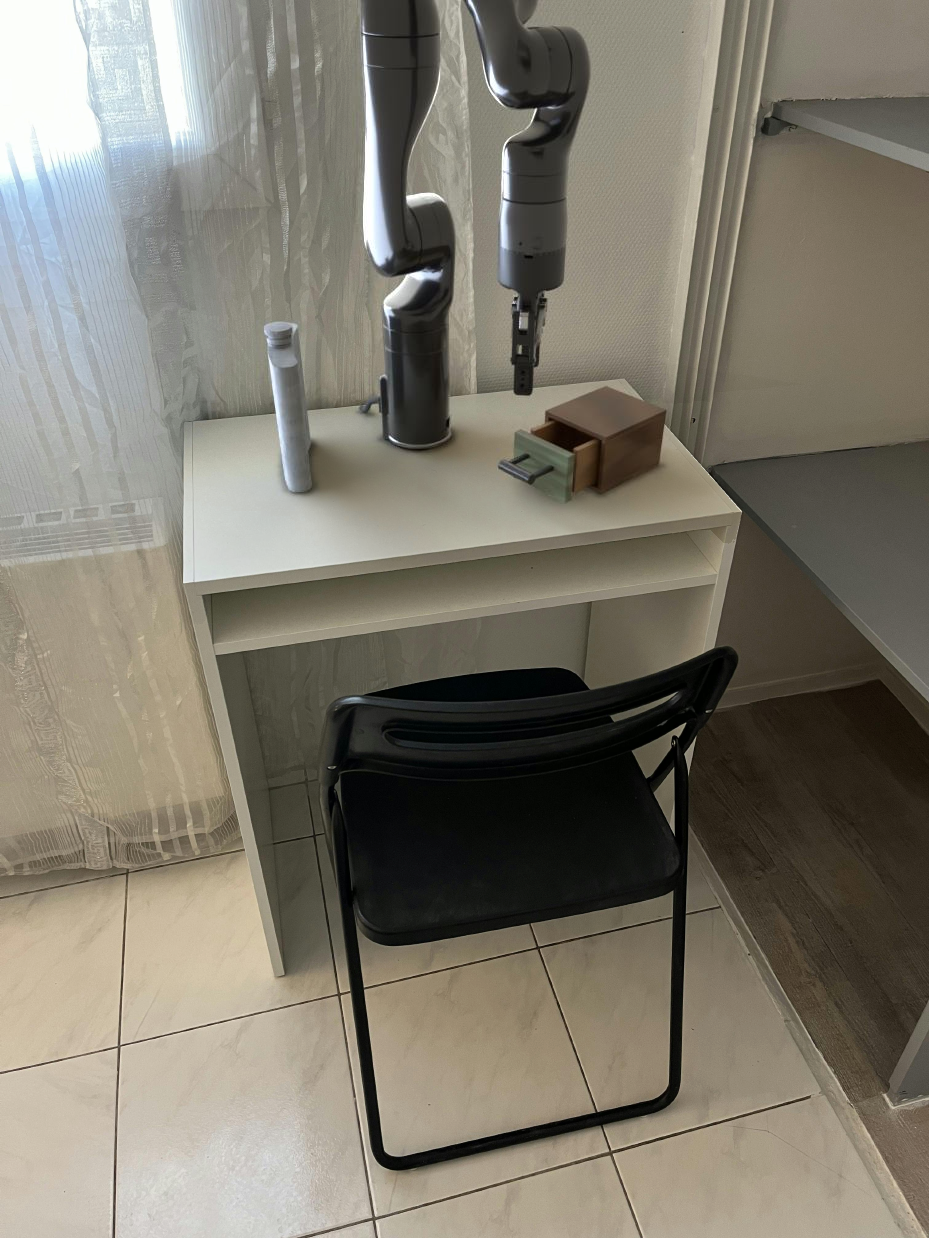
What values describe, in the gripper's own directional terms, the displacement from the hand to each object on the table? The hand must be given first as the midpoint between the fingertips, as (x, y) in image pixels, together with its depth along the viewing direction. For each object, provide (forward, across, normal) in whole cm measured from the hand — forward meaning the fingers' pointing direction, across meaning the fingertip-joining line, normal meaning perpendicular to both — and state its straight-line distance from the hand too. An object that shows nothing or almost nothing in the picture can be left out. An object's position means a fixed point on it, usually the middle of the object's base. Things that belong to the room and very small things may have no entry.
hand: (526, 379), depth 113 cm
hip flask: (+17, -6, -32) cm, 37 cm away
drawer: (+16, -5, +4) cm, 17 cm away
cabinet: (+17, -12, +10) cm, 23 cm away
